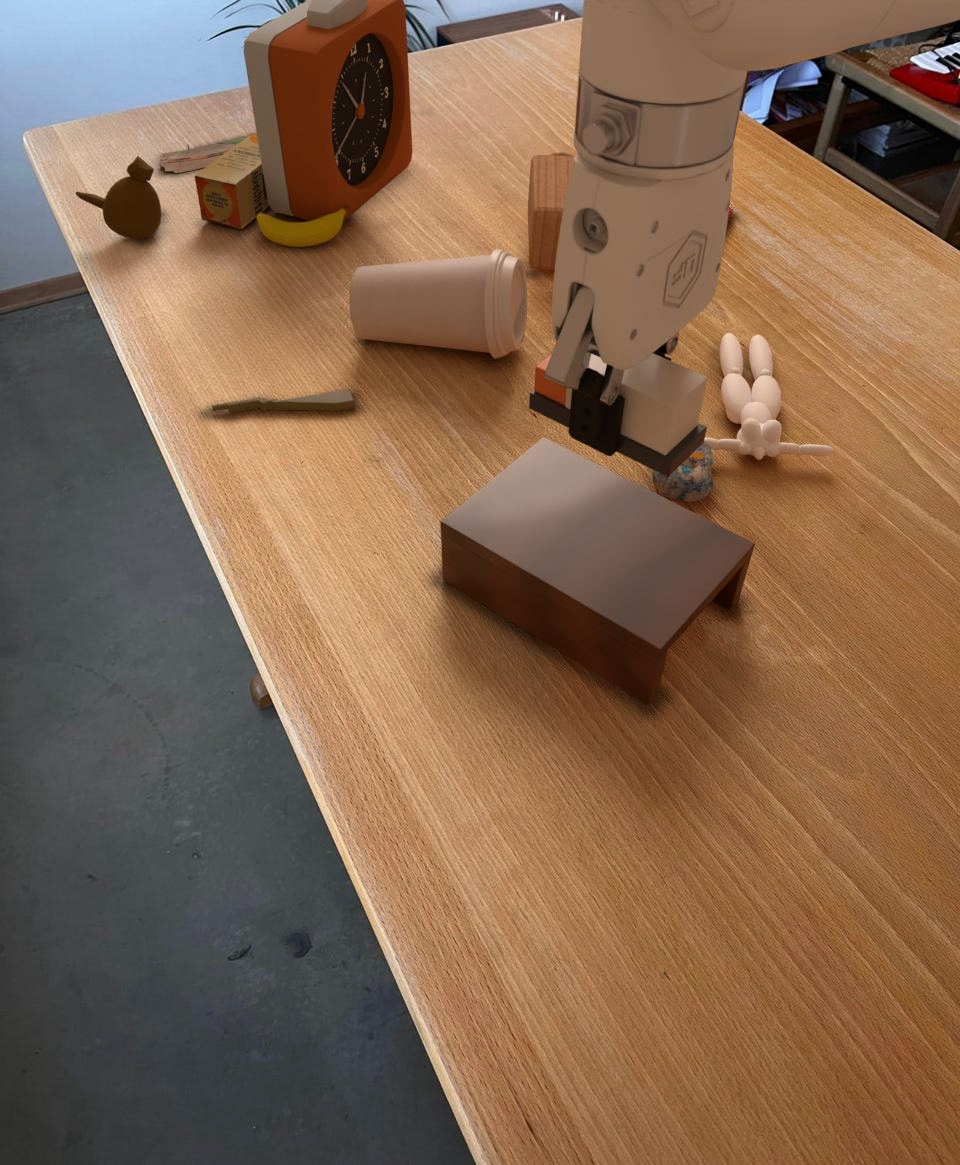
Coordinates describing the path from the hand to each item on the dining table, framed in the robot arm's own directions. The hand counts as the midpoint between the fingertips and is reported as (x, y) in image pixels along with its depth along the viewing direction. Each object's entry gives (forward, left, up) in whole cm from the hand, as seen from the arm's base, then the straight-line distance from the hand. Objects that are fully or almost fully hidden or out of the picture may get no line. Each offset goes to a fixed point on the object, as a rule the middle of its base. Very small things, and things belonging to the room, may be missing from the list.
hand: (615, 422), depth 60 cm
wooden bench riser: (+1, -1, -17) cm, 17 cm away
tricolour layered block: (0, 0, 0) cm, 0 cm away
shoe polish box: (+67, -31, -14) cm, 75 cm away
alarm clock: (+59, -34, -17) cm, 70 cm away
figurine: (+67, -12, -12) cm, 69 cm away
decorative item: (+28, -35, -13) cm, 47 cm away
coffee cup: (+37, -15, -13) cm, 42 cm away
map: (+76, -34, -17) cm, 85 cm away
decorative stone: (+2, -15, -17) cm, 23 cm away
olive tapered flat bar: (+34, -2, -15) cm, 37 cm away
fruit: (+53, -21, -16) cm, 59 cm away
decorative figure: (+8, -36, -15) cm, 40 cm away
